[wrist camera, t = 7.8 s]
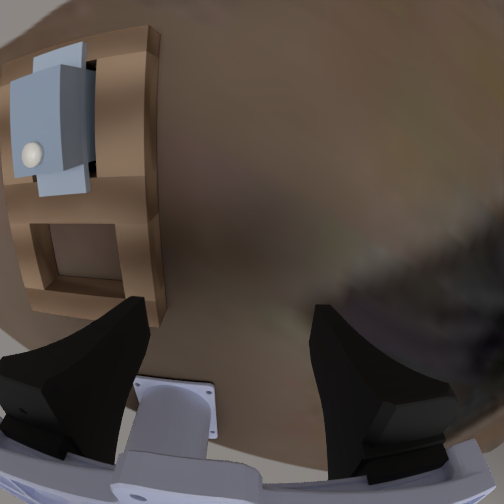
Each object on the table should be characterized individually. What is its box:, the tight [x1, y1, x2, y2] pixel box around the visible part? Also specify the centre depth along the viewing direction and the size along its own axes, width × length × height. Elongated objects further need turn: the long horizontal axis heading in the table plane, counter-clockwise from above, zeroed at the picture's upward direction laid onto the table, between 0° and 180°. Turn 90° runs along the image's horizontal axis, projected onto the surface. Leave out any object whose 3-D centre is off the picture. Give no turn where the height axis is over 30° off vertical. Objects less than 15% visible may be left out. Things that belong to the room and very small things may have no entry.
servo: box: [10, 41, 96, 197], centre depth 15 cm, size 4×10×6 cm, turn 179°
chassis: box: [0, 25, 167, 327], centre depth 19 cm, size 20×12×2 cm, turn 178°
